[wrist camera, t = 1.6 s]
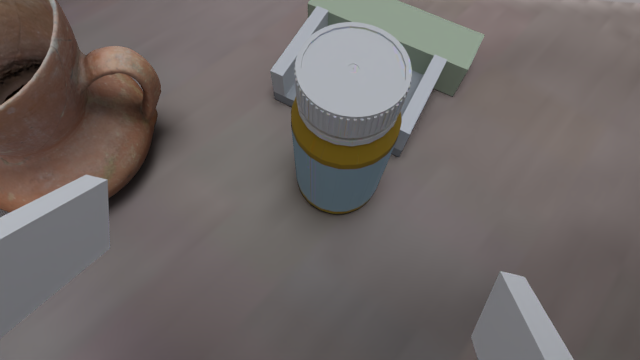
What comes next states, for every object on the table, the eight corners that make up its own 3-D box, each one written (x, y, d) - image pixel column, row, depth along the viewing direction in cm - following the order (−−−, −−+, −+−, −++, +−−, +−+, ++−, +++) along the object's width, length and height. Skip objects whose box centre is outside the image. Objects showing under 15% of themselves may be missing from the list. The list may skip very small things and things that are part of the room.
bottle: (349, 231, 32) (377, 150, 18) (281, 187, 33) (258, 80, 19) (390, 168, 34) (444, 53, 20) (325, 129, 35) (333, -4, 22)
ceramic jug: (-34, 241, 31) (-285, 173, 18) (-7, 92, 36) (-185, -46, 23) (191, 210, 33) (115, 127, 19) (186, 72, 38) (124, -67, 25)
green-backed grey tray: (468, 63, 39) (485, 33, 35) (419, 166, 34) (432, 144, 30) (328, 6, 41) (329, -29, 37) (265, 94, 37) (260, 66, 33)
